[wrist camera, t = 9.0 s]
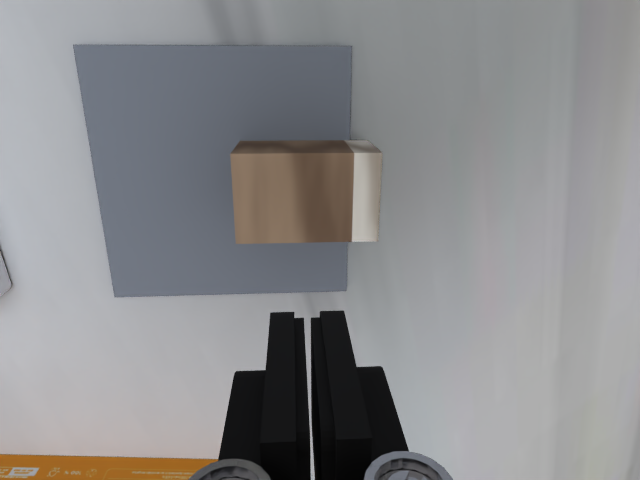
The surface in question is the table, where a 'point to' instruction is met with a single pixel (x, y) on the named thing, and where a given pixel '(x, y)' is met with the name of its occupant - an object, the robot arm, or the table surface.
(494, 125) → the table surface
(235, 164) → the walnut block
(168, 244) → the mat
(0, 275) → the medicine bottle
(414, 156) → the table surface
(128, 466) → the cereal box
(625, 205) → the table surface
